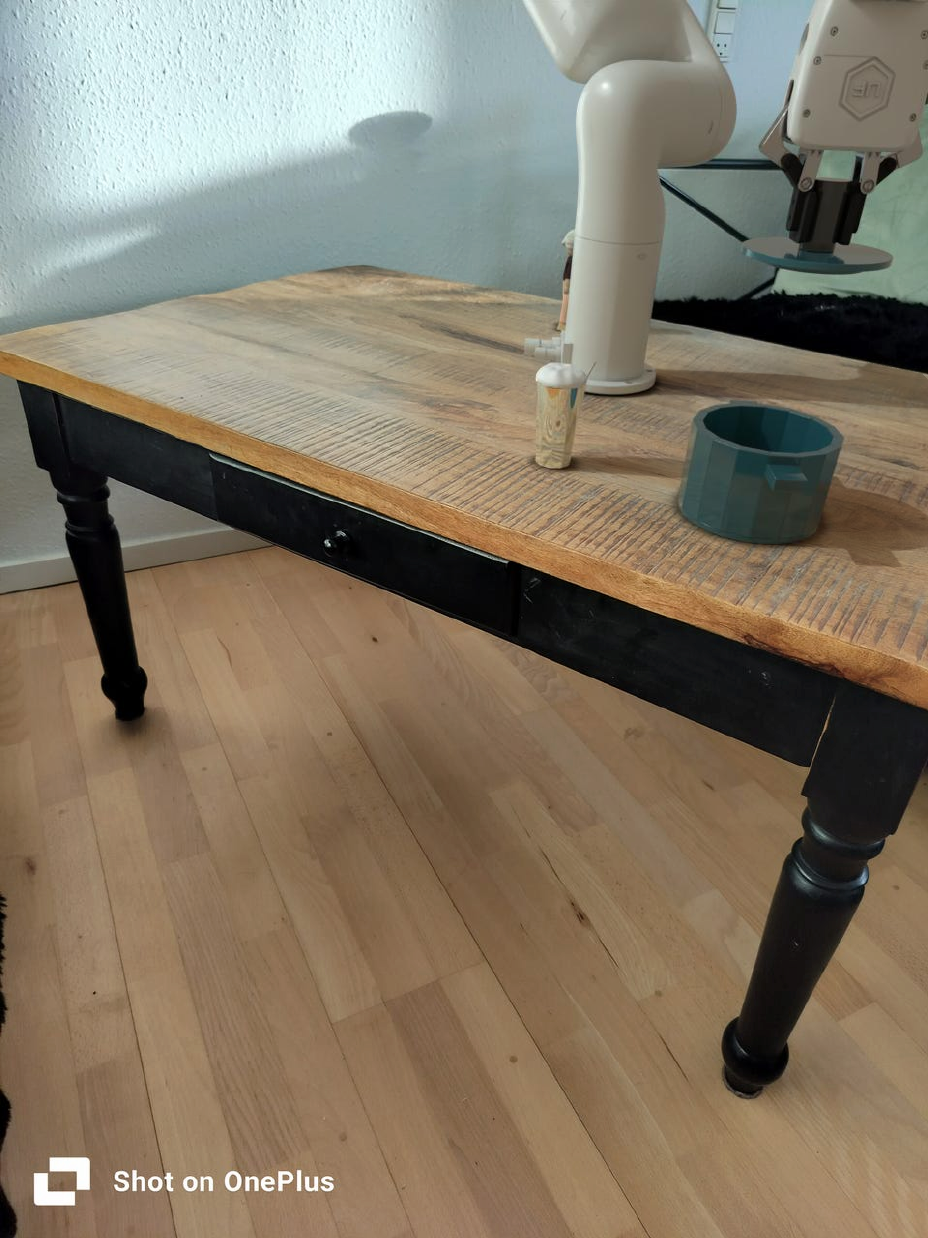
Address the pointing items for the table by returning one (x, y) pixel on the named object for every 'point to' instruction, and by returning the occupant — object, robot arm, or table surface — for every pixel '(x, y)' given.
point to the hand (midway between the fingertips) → (818, 239)
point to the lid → (820, 240)
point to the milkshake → (558, 412)
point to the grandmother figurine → (566, 278)
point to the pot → (758, 472)
